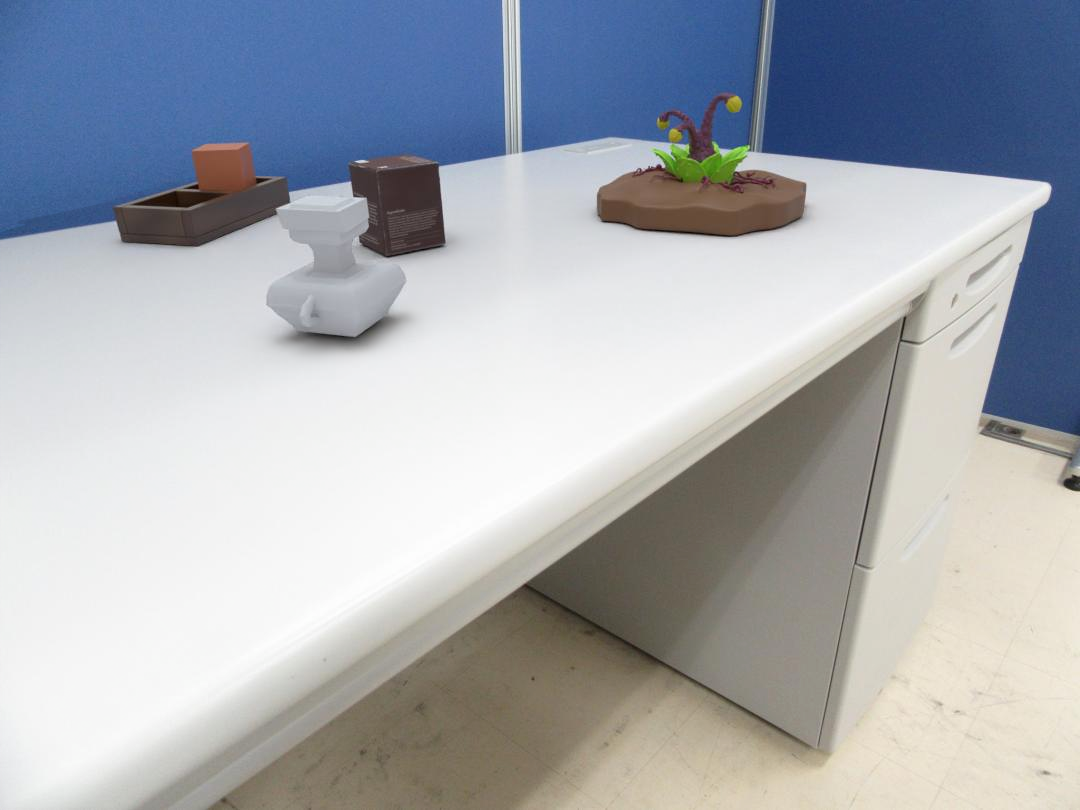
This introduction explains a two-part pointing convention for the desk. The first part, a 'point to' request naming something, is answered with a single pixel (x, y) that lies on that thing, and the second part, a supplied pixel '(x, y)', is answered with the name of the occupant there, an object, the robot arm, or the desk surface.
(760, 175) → the plant
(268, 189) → the tray
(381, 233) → the box
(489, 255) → the desk surface
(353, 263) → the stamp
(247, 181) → the block
